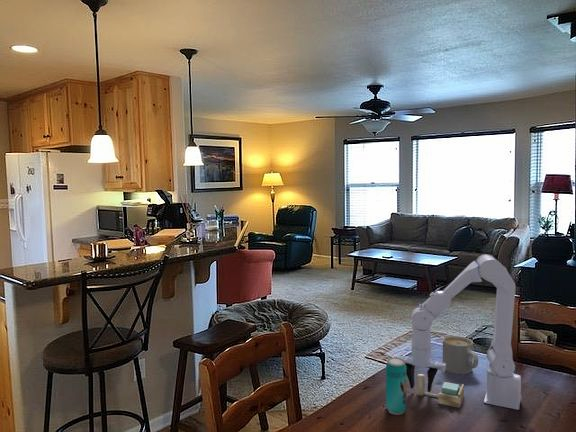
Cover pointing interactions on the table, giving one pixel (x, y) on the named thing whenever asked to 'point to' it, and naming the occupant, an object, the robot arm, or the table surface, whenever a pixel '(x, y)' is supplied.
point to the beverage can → (396, 386)
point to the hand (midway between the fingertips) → (420, 388)
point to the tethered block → (446, 388)
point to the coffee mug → (459, 355)
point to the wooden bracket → (452, 398)
